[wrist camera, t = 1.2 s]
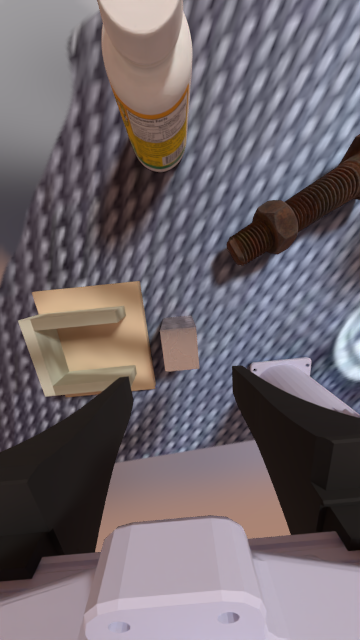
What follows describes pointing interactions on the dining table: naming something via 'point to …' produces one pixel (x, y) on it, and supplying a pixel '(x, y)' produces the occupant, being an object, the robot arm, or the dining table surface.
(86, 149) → the dining table surface
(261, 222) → the bolt
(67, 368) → the keeper cradle
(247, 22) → the dining table surface
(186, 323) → the link block
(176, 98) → the supplement bottle
